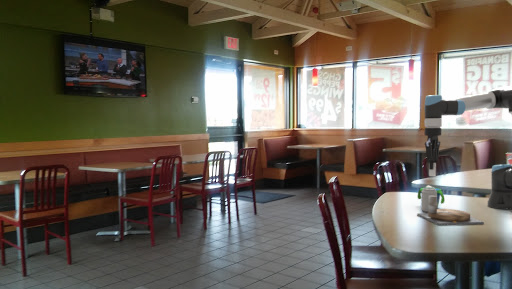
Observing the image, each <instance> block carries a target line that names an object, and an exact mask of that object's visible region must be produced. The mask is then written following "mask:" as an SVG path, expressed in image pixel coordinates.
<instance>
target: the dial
mask: <svg viewBox="0 0 512 289" xmlns="http://www.w3.org/2000/svg"><path fill="white" fill-rule="evenodd" d="M427 213H428V216H429V217H431V218H434V219H438V220H445V221H467V220H470V217H471V213H469V212H468V211H464V210H459V209H452V208H438V207H437V196H429V211H428V212H427Z"/></svg>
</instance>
